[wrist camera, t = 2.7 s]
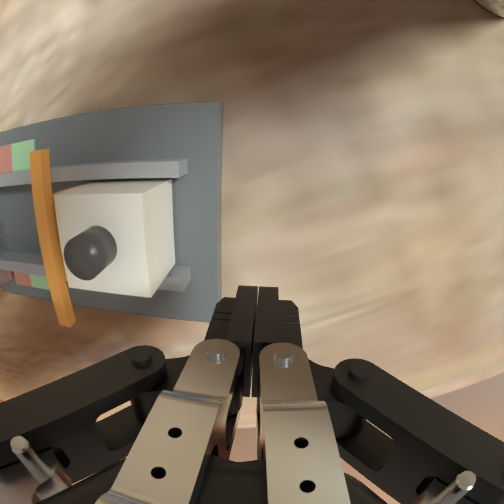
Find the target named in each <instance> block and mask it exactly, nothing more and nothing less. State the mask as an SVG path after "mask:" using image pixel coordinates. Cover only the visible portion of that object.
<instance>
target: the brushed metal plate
mask: <svg viewBox="0 0 504 504" xmlns="http://www.w3.org/2000/svg"><path fill="white" fill-rule="evenodd" d="M7 252H9V250H8V245H7V240H6V235H5V229H4V223H3V217H2V211H1V204H0V256H2V255H4V254H5V253H7ZM14 277H15V276H14V272H13V271H6V270H0V287H2V286H3V285H4V284H6V283H7V282H8V281H10V280H11V279H12V278H14Z"/></svg>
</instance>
